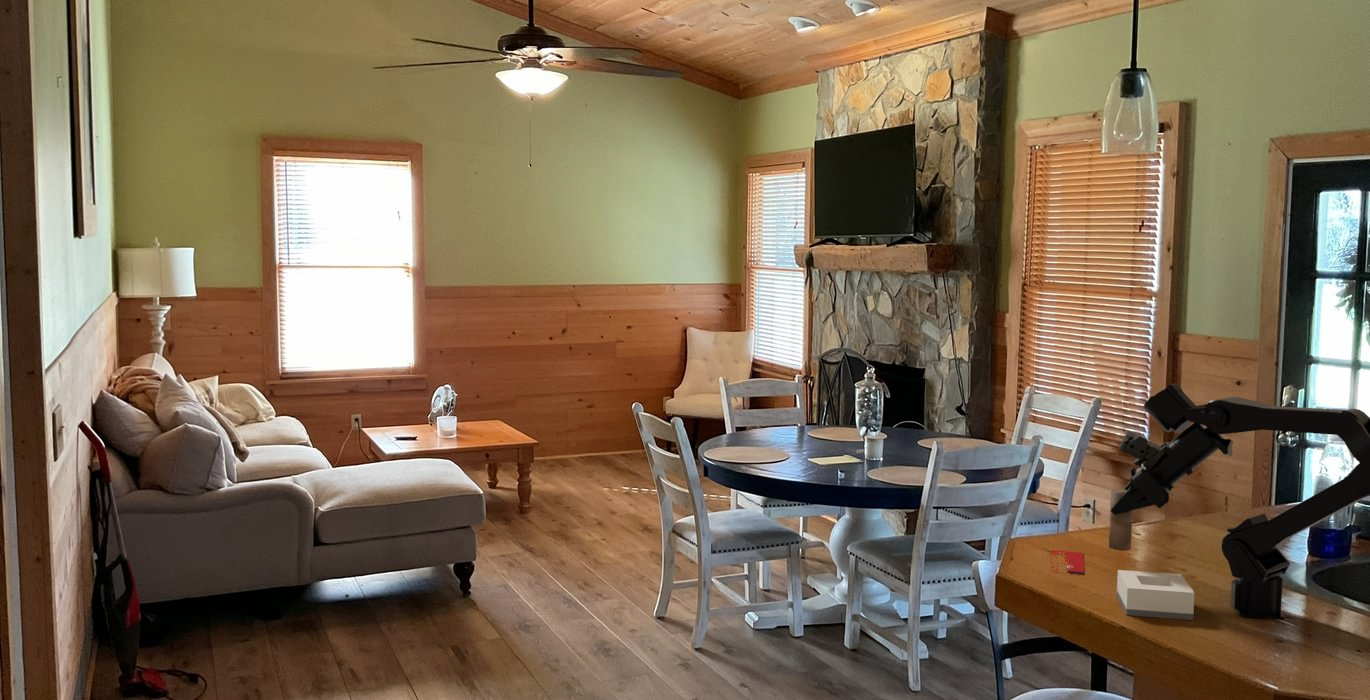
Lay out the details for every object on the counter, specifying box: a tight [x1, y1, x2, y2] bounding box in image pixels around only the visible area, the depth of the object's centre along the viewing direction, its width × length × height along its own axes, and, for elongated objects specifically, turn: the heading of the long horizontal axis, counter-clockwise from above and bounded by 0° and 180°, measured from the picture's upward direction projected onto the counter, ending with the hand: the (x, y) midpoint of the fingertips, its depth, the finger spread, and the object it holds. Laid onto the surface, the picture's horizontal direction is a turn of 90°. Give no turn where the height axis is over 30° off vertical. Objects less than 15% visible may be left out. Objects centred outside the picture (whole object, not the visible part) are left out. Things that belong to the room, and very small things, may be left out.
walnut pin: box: [1108, 488, 1133, 552], centre depth 187 cm, size 4×4×10 cm
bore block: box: [1116, 569, 1195, 621], centre depth 177 cm, size 10×10×4 cm
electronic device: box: [1050, 549, 1086, 576], centre depth 203 cm, size 6×1×15 cm
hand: (1112, 509), depth 188 cm, fingers closed on walnut pin, 4 cm apart
